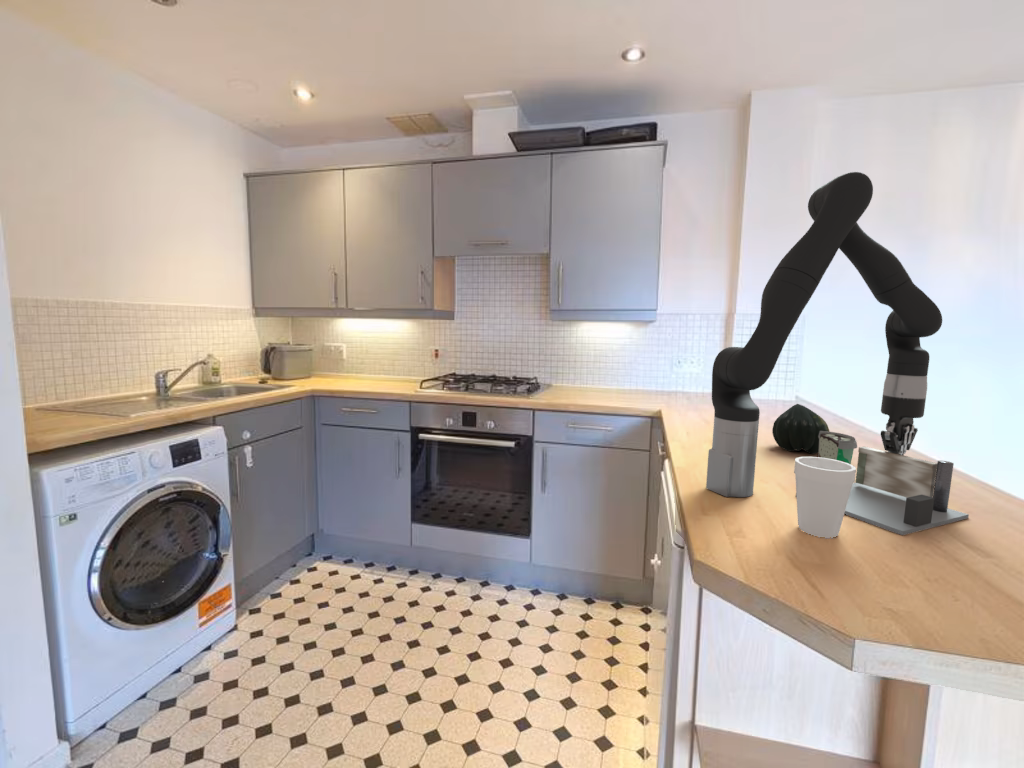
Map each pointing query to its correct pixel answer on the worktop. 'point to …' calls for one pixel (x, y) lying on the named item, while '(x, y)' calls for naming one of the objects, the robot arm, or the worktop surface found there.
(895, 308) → the robot arm
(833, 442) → the food container
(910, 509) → the plaque display stand
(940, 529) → the worktop surface
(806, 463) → the foam cup
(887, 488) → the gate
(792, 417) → the squash
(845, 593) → the worktop surface
